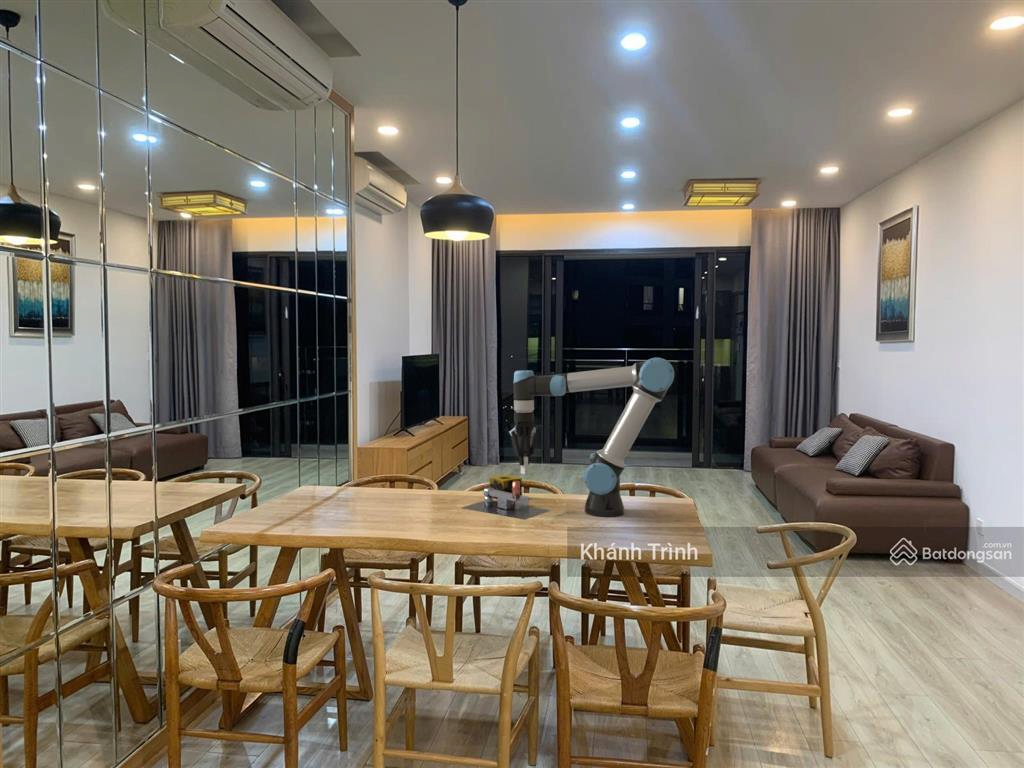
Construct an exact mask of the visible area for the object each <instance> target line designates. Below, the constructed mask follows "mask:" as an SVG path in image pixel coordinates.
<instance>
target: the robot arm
mask: <svg viewBox="0 0 1024 768" xmlns="http://www.w3.org/2000/svg"><path fill="white" fill-rule="evenodd" d="M674 379H675V370H674V367H673V365H672V364H671V362H670V361H668V360H667V359H664V358H662V357H652V358H649V359H647V360H645V361H641V362H635V363H634V364H633V365H629V366H621V367H620V366H619V367H612V368H602V369H595V370H594V369H593V370H585V371H575V372H567V373H556V374H552V375H551V374H550V375H535V374H534V371H533V370H515V371H514V373H513V411H514V413H513V422H514V425H513V428H512V429H511V430H508V435H509V436H510V439H511V444H512V448H513V449H512V450H513V454H514V455H515V456H517V457H518V464H519V466H520V474H522V475H529V466H530V458H531V457H532V455H534V453H535V449H536V445H537V439H538V434H539V433H540V429H539V428H536V427H535V424H534V421H535V413H534V410H535V399H534V397H538V396H539V397H540V396H543V397H544V396H545V397H546V396H547V397H560V396H565V394H566V393H567V394H568V393H577V392H587V391H596V390H597V391H598V390H607V389H615V388H625V387H632V389H633V392H632V394H631V396H630V398H629V400H628V401H627V404H626V405H625V407H624V409H623V411H622V413H621V415H620V416H619V418H618V420H617V422H616V423H615V426H614V428H613V429H612V431H611V432H610V435H609V437H608V438H607V440H606V442H605V444H604V446H603V448H602V449H599V450H596V452H592V453H591V454H590V455H589V465H588V467H587V468H586V469H585V471H584V475H583V481H584V482H583V483H584V484H585V486H586V488H587V489H588V491H589V492H588V496H587V498H586V502H585V504H584V513H586V514H587V515H591V516H596V517H608V518H609V517H610V518H611V517H612V518H613V517H619V516H622V515H624V514H625V506H624V503H623V499H622V497H621V491H620V490H621V489H620V488H621V475H622V473H623V471H624V469H625V468H626V464H625V458H626V457H627V455H628V454H629V451H630V450H631V449H632V446H633V444H634V443H635V441H636V439H637V437H638V435H639V434H640V431H641V430H642V428H643V427H644V424H645V422H646V420H647V419H648V417H649V415H650V414H651V412H652V410H653V408H654V407H655V404H657V403H659V402H661V401H662V400H663V399H664V397H665V395H666V394H667V391H668V389H669V388H670V387H671V385H672V384H673V382H674Z"/></svg>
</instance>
